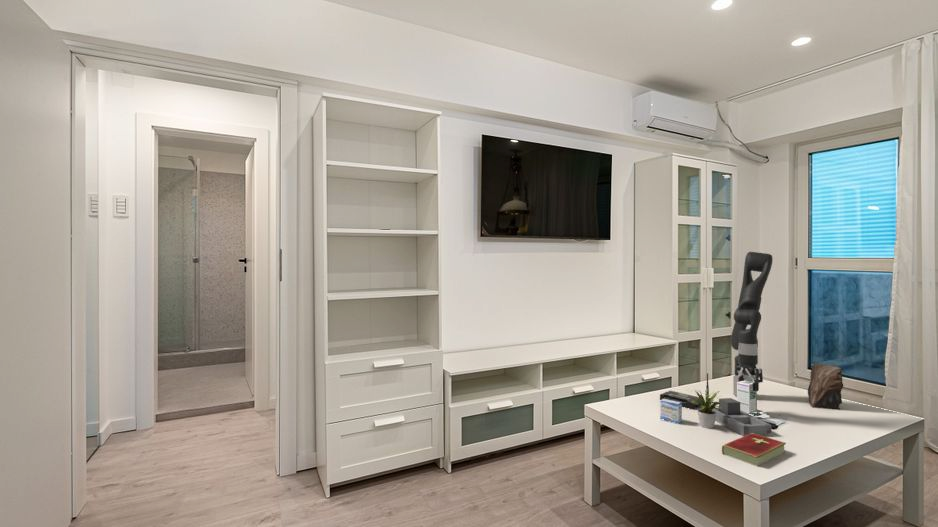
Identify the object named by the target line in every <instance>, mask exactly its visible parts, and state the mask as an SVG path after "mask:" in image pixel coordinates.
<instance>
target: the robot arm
mask: <svg viewBox="0 0 938 527" xmlns="http://www.w3.org/2000/svg"><path fill="white" fill-rule="evenodd" d="M773 258H774V257H773V255H772V254H771V253H766V252H764V253H763V252H759V251H757V252H755V251H749V252H747V253H746V255H745V258H744V267H743V277H742V283H741V289H740V294H739V298H738V304H737V307H736V309H735V311H734V312H733V313H734V314H733V321H735V322H734V325H733V329H732V332H731V336H730V346H731V348H732V349H733V350H736V351H737V353H738V354H737V355H736V356H735V357H734V375H733V379H732V380H733V383H732V384H733V390H732V391H733V392H732V393H733V395H734V397H736V398H737V382H740V381H744V380H746V381H751V382H753V391H757V392H759V390H760V389H759V388H760V387H759V386H760V383H763V381H764V377H763V369H762V368H757V366H758V364H759V355H758V354H759V352H758V351H759V350H758V348H759V343H758V342H759V340H758V331H759V327H760V324H761V321H762V314H761V312H760V308H761V303H762V295H763V290H764V288H765V285H766V283H767V281H768V277H769V275H770V273H771V269H772V267H773ZM752 272H756V273H757V272H759V273H760V274H759V276H757V278H756V279H753V275H752ZM748 326H750V327H749V328H748V329H747V327H748Z"/></svg>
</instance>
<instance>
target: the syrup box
mask: <svg viewBox="0 0 938 527" xmlns="http://www.w3.org/2000/svg"><path fill="white" fill-rule="evenodd" d="M757 392H758V391H753V382H751V381H746V380H744V381H740V382H737V397H736V401H739V402H740V410H741V411H743V412H745V413H751V412H756V411H757V410H758V406H757V404H758V402H757V401H758V400H757V399H758V397H757V396H758V395H757Z"/></svg>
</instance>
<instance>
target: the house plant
mask: <svg viewBox="0 0 938 527" xmlns="http://www.w3.org/2000/svg"><path fill="white" fill-rule="evenodd" d="M695 389H696V390H695ZM695 389H694V391H692V392H693V393H694V392H695V393H696V394H695V393H694V394H695V395H696V396H695V395H694V396H695V397H697V398H698V397H699V398H700V399H699V398H698V399H699V401H700V403H701V402H702V403H701V405H700V404H699V403H697V402H696V401H692V403H694V404H696V403H697V405H700V406H699V408H698V409H697V416H698V421H699V426H700V427H701V428H704V429H713V428H714V427H715V422H716V421H715V418H716V412H715V411H713V409H717V410H718V408H720V409H721V410H722V408H721V407H719V404H721V403H719V401H714V400H715V399H719V397H721V395H719V396H717V394H719V392H720V391H715V392H714V391H712V393H709V397H708V393H707V391H708V389H707V391H706V390H705V397H704V396H703V395H702V392H701V391H699V389H697V388H695ZM685 390H687V391H688V389H685ZM698 391H699V392H698ZM708 398H709V399H708ZM708 402H709V403H708Z"/></svg>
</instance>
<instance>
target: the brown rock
mask: <svg viewBox="0 0 938 527" xmlns="http://www.w3.org/2000/svg"><path fill="white" fill-rule="evenodd" d="M842 371H843V368H842V367H839V366H837V365H836V364H827V363H823V362H822V363H821V362H819V361H813V362H812V367H811V371H810V372H809V373H810V382H809V384H808V388H807V396H808V401H809V404H810V407H811V408H814V409H824V410H825V409H827V410H841V408H840V405H841V404H842V403H843V400H842V399H843V398H842V390H843V388H844V383H843V375H842Z"/></svg>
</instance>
